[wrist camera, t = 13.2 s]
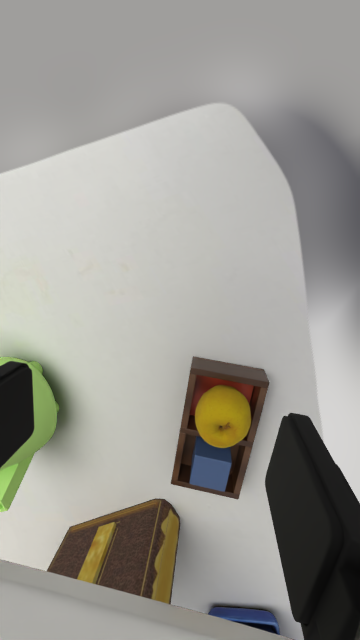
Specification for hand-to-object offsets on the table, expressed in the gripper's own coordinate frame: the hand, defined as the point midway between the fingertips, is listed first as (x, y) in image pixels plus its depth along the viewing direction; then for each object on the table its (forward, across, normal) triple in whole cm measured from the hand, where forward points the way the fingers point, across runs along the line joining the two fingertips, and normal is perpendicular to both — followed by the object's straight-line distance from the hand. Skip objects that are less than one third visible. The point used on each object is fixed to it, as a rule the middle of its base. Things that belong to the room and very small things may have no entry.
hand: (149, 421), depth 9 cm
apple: (+22, -5, +12) cm, 26 cm away
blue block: (+22, -5, +20) cm, 31 cm away
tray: (+23, -5, +16) cm, 28 cm away
